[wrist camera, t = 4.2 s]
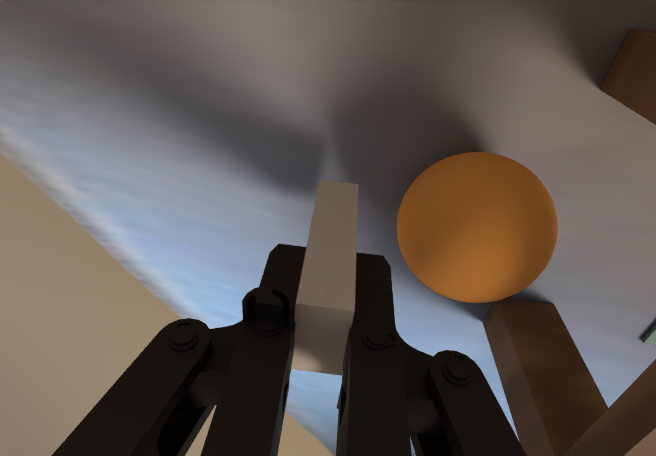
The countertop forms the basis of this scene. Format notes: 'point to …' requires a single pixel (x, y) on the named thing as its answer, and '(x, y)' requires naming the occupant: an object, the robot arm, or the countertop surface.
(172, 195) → the countertop surface
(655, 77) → the bridge
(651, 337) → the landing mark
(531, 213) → the ball
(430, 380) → the robot arm
